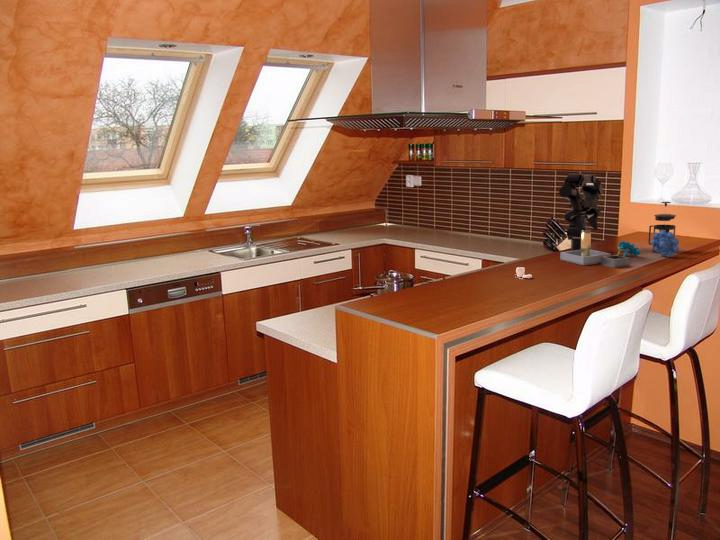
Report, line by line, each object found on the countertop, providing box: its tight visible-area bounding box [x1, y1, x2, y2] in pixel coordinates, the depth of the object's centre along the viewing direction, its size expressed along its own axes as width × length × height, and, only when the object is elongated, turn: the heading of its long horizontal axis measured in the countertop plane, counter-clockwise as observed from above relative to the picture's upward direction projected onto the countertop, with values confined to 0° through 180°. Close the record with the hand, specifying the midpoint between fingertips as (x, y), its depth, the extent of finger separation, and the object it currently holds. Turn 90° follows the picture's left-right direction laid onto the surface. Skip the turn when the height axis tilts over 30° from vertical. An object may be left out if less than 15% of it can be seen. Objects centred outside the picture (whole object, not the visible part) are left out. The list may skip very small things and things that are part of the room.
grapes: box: [650, 230, 680, 258], centre depth 267 cm, size 12×7×12 cm, turn 47°
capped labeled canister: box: [580, 229, 592, 257], centre depth 267 cm, size 4×4×13 cm
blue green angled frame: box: [616, 240, 641, 257], centre depth 272 cm, size 11×6×10 cm
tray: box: [559, 249, 612, 266], centre depth 268 cm, size 15×15×4 cm
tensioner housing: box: [600, 254, 630, 269], centre depth 255 cm, size 8×8×4 cm
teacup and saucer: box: [515, 266, 533, 279], centre depth 242 cm, size 9×8×4 cm
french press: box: [648, 201, 677, 254], centre depth 279 cm, size 12×9×23 cm
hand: (589, 230), depth 271 cm, fingers open, 9 cm apart
